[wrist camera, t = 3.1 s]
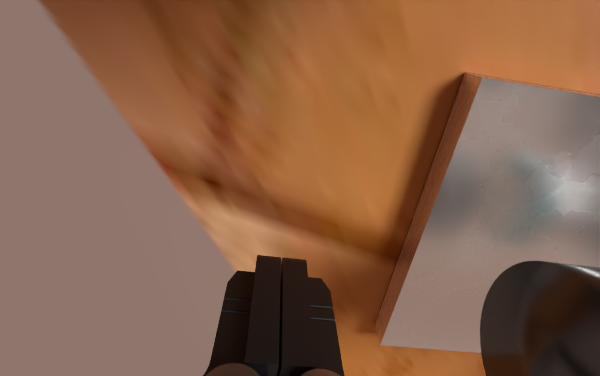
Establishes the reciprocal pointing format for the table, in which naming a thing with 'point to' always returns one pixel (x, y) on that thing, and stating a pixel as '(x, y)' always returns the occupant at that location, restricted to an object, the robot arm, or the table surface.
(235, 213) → the table surface
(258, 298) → the robot arm
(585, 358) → the shaft
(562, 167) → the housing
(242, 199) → the table surface
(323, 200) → the table surface
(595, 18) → the table surface
